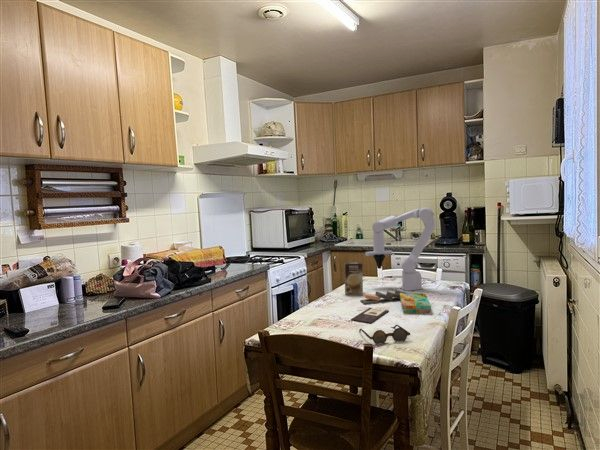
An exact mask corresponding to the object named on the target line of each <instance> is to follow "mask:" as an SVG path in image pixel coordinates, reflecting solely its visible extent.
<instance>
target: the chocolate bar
mask: <svg viewBox="0 0 600 450" xmlns="http://www.w3.org/2000/svg"><path fill="white" fill-rule="evenodd" d="M389 312H390V311H389V310H388V309H381V308H373V307H368V308H367V309H365V310H363V311H362V312H360V313H359V314H357V315H356V316H353V317H352V318H350V321H352V322H357V323H361V324H362V323H363V324H368V325H372V324H374V323H375V322H376V321H378V320H379V319H380V318H382V317H383V316H385V315H386V314H388V313H389Z"/></svg>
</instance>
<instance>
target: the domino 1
mask: <svg viewBox="0 0 600 450" xmlns="http://www.w3.org/2000/svg"><path fill="white" fill-rule="evenodd" d="M363 297H364V299H372V300H378V301H379V302H380V301H381V298H380V297H378V296H377V295H375V294H372V293H367V292H363Z"/></svg>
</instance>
